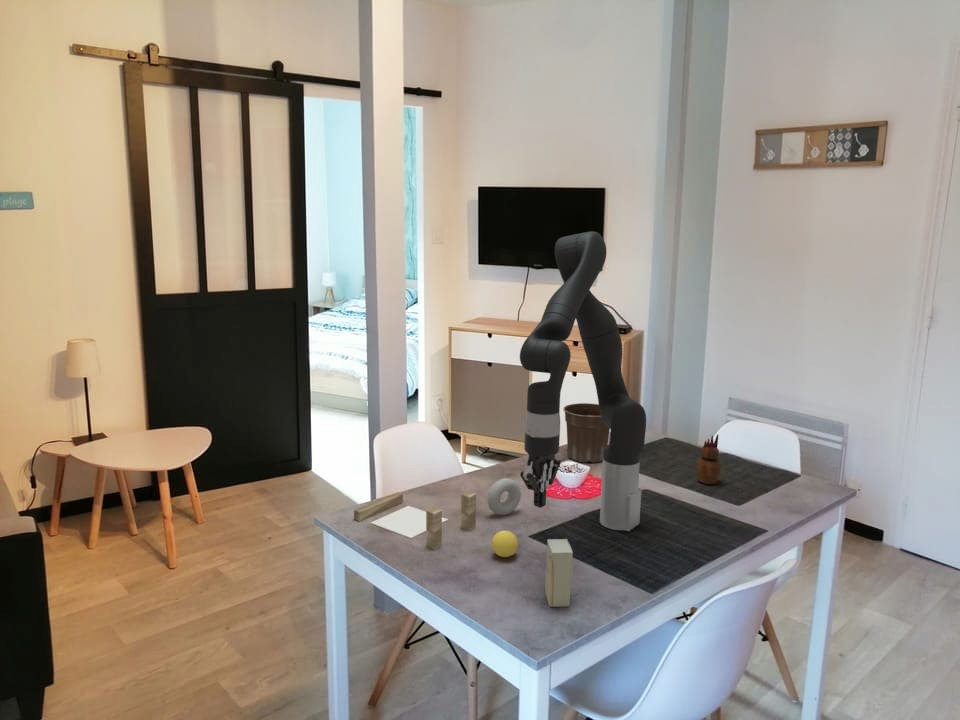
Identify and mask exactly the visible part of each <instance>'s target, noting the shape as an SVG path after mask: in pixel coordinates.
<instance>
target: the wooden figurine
mask: <svg viewBox="0 0 960 720" xmlns="http://www.w3.org/2000/svg"><path fill="white" fill-rule="evenodd" d="M718 444H719V434H716V437H715V440H714V435H711V437H710V438H707V441H706V440H704V443H703V446H702V448H700V455H701V457H699V459H697V462H696V471H695V472H696V477H697V479H698V481H699V482H700V483H703V484H705V485H714V484H716V483H717V482H718V481H719V478H720V475H721V470H722V464H721V462H720V460H719V459H718V457H719V454H720V452H719V451H720V450H719V448H718Z"/></svg>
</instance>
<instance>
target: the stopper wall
mask: <svg viewBox="0 0 960 720" xmlns="http://www.w3.org/2000/svg"><path fill="white" fill-rule="evenodd" d="M403 496H404V495H403V493H402V492H395V493H392V494H389V495H387V496H385V497H382V498H380V499H378V500H376V501H373V502H370V503H368V504H365V505H364V506H361V507H358V508H357V509H354V510H353V520H354V521H358V522H359V523H360V522H361V521H364V520H367V519H369V518H371V517H373V516H375V515H377V514H378V515H379V514H380V513H382V512H384V511H386V510H390V509H392V508H394V507H396V506H399V505H401V504H404V497H403Z"/></svg>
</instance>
